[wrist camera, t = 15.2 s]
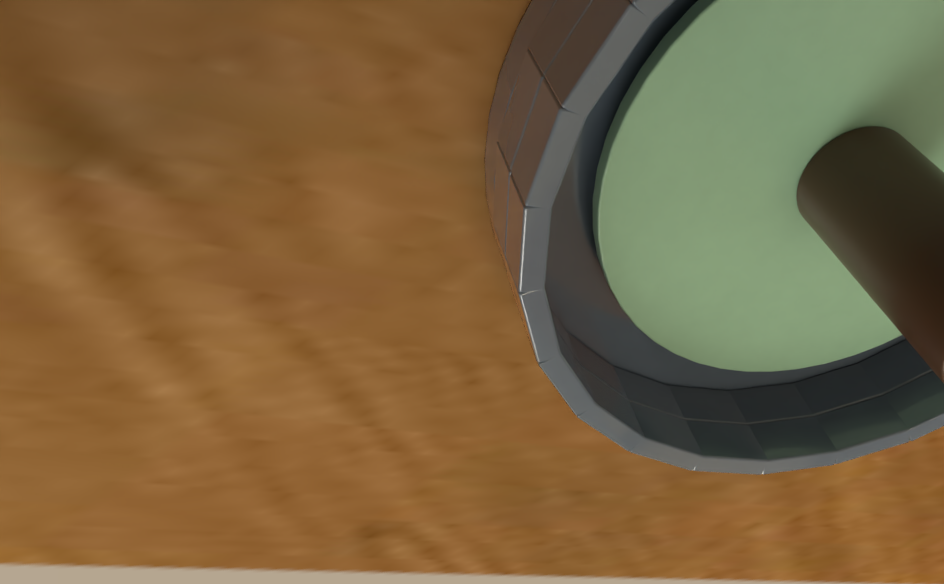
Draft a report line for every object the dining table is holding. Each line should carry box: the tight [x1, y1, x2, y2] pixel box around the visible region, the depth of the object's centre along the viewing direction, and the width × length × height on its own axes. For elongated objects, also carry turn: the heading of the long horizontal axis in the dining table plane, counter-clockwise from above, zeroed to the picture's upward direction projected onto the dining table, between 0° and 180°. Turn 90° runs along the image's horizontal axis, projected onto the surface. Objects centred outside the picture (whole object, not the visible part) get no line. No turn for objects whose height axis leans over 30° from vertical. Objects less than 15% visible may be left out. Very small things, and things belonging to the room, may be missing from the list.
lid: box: [593, 0, 944, 383], centre depth 19 cm, size 12×12×7 cm
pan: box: [485, 0, 944, 475], centre depth 21 cm, size 17×17×4 cm
